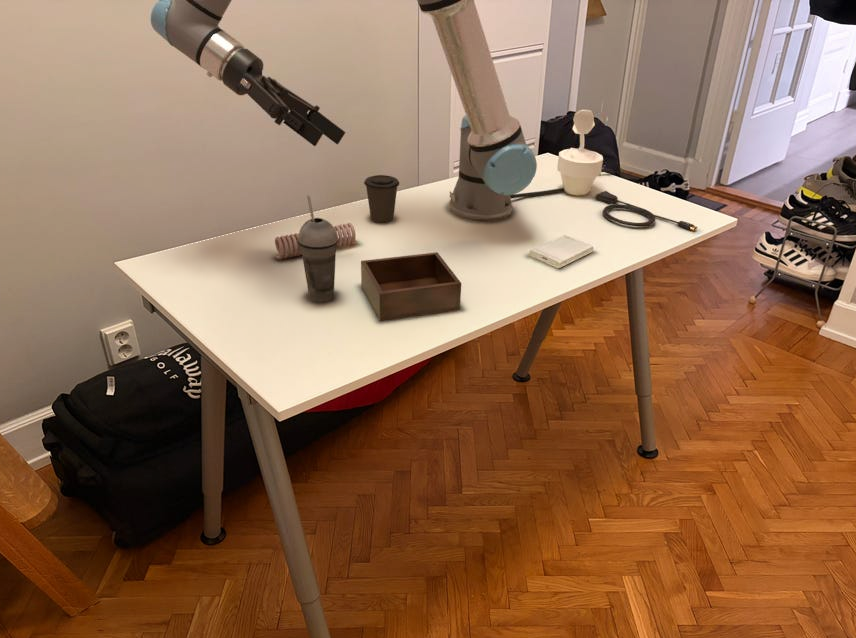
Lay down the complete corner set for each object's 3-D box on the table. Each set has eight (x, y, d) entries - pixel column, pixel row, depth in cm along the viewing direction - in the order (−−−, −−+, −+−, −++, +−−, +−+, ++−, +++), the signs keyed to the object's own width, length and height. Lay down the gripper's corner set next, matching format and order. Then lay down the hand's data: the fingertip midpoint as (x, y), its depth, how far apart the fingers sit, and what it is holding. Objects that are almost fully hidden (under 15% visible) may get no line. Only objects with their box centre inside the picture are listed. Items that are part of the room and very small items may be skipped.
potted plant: (592, 203, 185) (609, 103, 171) (549, 195, 188) (561, 96, 174) (602, 187, 195) (618, 91, 181) (560, 180, 198) (573, 85, 184)
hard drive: (564, 234, 164) (530, 249, 156) (593, 246, 159) (560, 262, 151) (563, 241, 165) (529, 256, 157) (592, 252, 160) (559, 269, 152)
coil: (279, 244, 145) (359, 228, 154) (270, 233, 148) (350, 218, 156) (280, 264, 148) (359, 247, 156) (271, 253, 151) (350, 237, 159)
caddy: (436, 277, 146) (437, 252, 143) (459, 309, 136) (461, 283, 133) (361, 286, 141) (360, 260, 138) (379, 320, 131) (379, 293, 128)
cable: (666, 244, 166) (667, 238, 165) (570, 207, 182) (571, 201, 181) (696, 230, 174) (698, 224, 173) (603, 195, 190) (604, 190, 189)
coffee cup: (373, 228, 165) (372, 186, 159) (359, 215, 170) (358, 174, 165) (405, 222, 168) (405, 181, 163) (390, 210, 174) (390, 169, 168)
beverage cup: (337, 306, 134) (332, 204, 123) (298, 304, 134) (289, 202, 123) (343, 288, 140) (339, 189, 129) (306, 286, 140) (298, 187, 129)
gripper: (251, 87, 141) (339, 153, 143) (190, 78, 118) (296, 158, 120) (270, 53, 139) (359, 121, 141) (212, 38, 115) (320, 120, 117)
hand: (330, 139), depth 130 cm, fingers open, 13 cm apart
